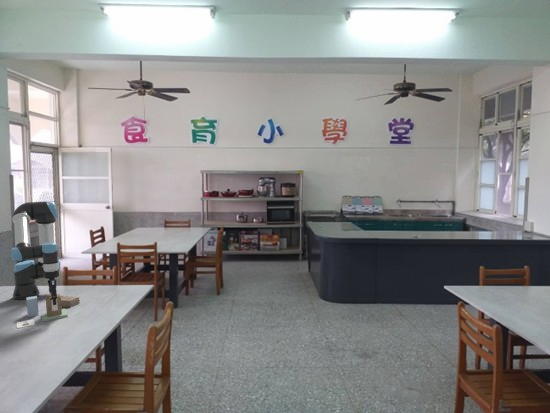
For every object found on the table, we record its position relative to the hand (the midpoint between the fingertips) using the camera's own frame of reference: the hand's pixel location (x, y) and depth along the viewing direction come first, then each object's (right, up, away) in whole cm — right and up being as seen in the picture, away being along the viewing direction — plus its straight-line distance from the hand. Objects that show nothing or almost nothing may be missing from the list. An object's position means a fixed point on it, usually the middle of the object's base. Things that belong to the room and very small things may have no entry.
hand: (53, 306), depth 221 cm
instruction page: (-9, -6, -11) cm, 15 cm away
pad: (0, -5, 0) cm, 5 cm away
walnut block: (0, -4, 0) cm, 4 cm away
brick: (-5, -4, +21) cm, 22 cm away
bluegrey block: (-14, -5, +3) cm, 15 cm away
